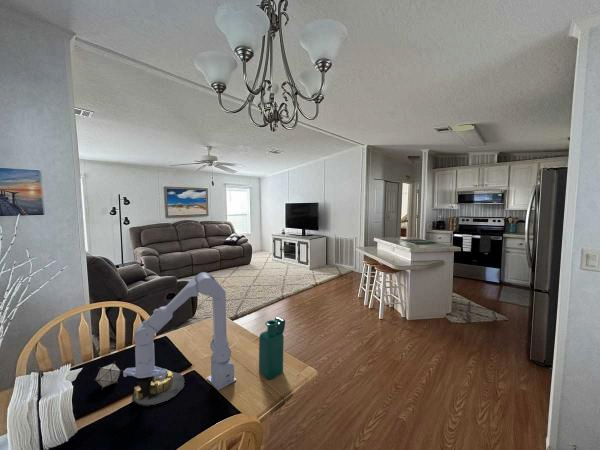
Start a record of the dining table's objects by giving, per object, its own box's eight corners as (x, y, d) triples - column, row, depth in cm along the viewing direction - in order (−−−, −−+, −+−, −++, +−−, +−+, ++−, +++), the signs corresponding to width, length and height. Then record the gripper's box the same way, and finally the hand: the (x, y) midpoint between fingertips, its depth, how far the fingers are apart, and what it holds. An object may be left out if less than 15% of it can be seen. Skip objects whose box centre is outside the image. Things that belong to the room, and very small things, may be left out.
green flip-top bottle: (269, 381, 104) (270, 328, 102) (256, 371, 109) (257, 321, 108) (287, 370, 111) (288, 321, 109) (274, 362, 116) (275, 314, 115)
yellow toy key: (143, 403, 89) (143, 393, 88) (130, 393, 93) (130, 383, 93) (177, 383, 99) (177, 373, 99) (164, 375, 104) (164, 366, 104)
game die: (111, 390, 102) (123, 362, 107) (117, 392, 96) (130, 362, 102) (85, 388, 97) (99, 358, 102) (90, 390, 91) (105, 359, 97)
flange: (192, 388, 98) (191, 376, 98) (141, 414, 86) (141, 400, 86) (174, 368, 110) (174, 357, 110) (127, 388, 98) (127, 376, 97)
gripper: (171, 352, 94) (172, 387, 95) (132, 351, 95) (133, 386, 96) (160, 364, 87) (161, 402, 88) (118, 363, 88) (119, 400, 89)
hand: (146, 395), depth 92 cm, fingers closed, pressing on yellow toy key
